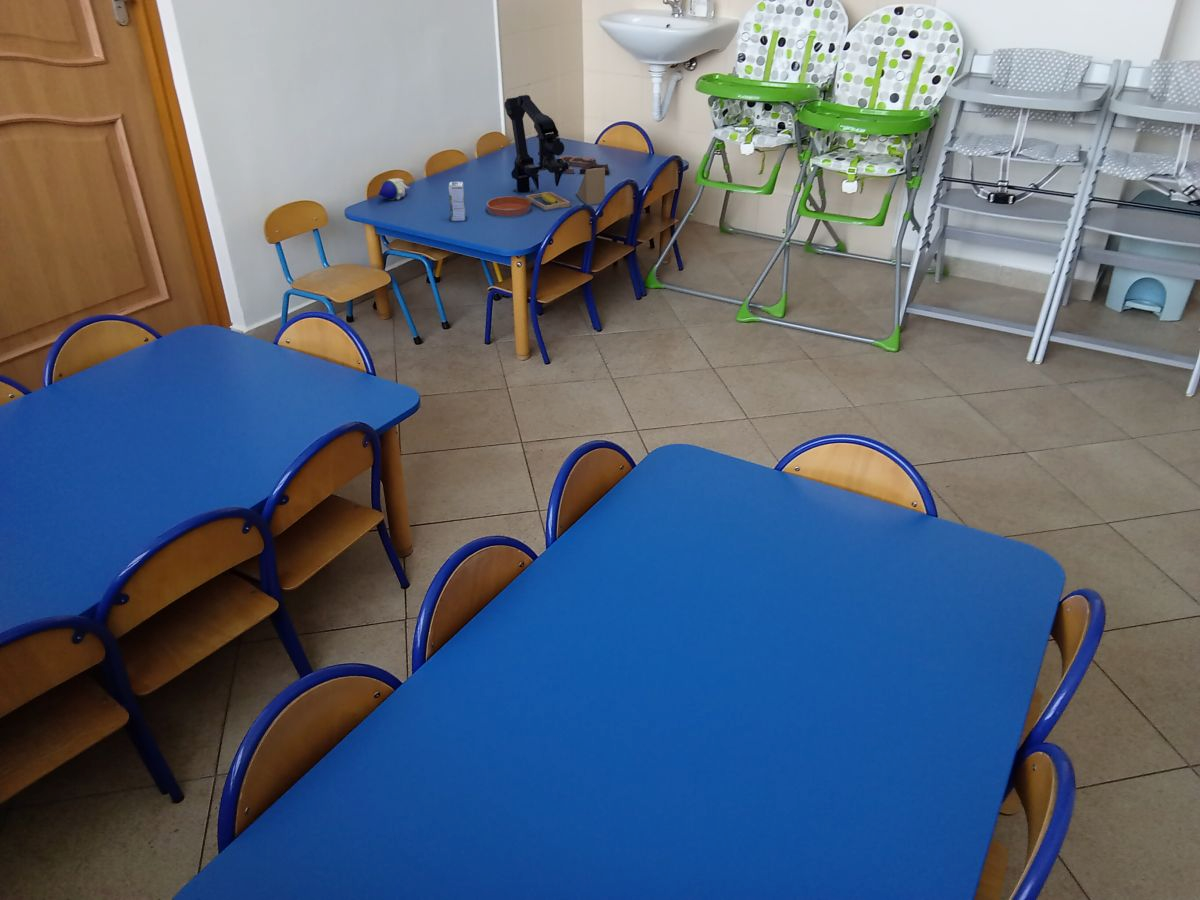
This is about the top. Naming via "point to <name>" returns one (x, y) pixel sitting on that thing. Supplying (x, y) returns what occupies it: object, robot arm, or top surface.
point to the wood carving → (583, 164)
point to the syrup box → (457, 201)
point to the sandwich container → (592, 186)
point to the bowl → (508, 206)
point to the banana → (548, 198)
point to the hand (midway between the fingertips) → (547, 187)
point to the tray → (560, 203)
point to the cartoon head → (393, 189)
